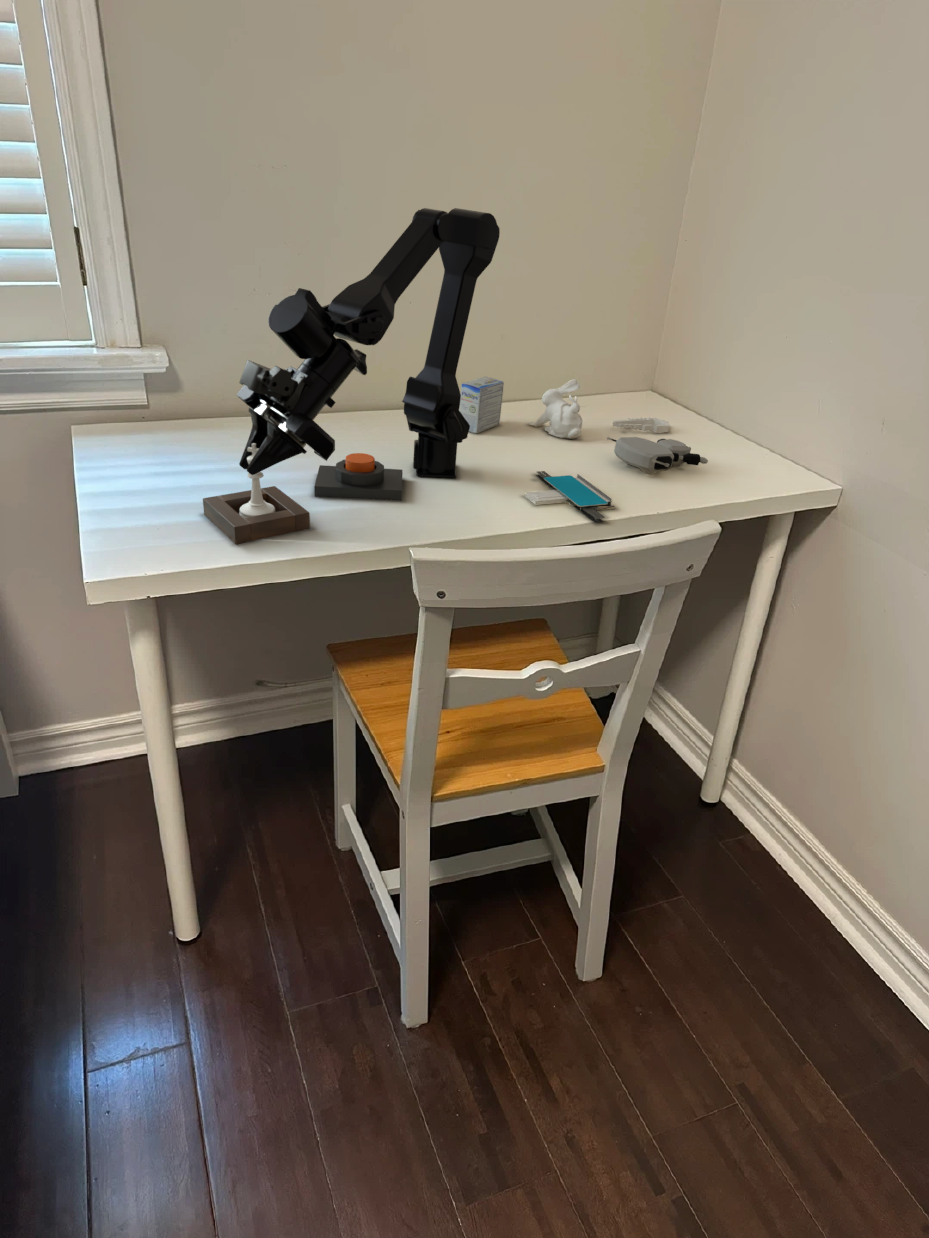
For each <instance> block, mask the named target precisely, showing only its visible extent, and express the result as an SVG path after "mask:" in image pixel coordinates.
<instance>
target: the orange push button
mask: <svg viewBox="0 0 929 1238" xmlns="http://www.w3.org/2000/svg"><path fill="white" fill-rule="evenodd" d="M345 459H346V469H347V470H348V471H352V472H363V473H364V472H371V471H373V470H374V469H375V461H376V458H375V457H374V456H373V455H372V454H369V453H363V452H355V453H350V454H347V455H346V456H345Z"/></svg>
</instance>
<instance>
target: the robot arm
mask: <svg viewBox="0 0 929 1238" xmlns="http://www.w3.org/2000/svg"><path fill="white" fill-rule="evenodd" d="M413 214H414V215H413V216H412V219H411V222H410V223H409V225H408V226H407V227H406V229H405V230H404V231H403V232H402V233H401V235H400V236H399V237H398V238H397V240H396V241H395V242H394V243H393V245H392V246H391V247H390V248H389V249H388V250H387V252H386V253H385V254H384V255H383V257H382V258H381V259H380V260H379V262H378V263H377V264H376V266H374V268H373V269H372V271H370V273H368V275H366V276H365V277H364V278H363V279H359V280H357V281H355V282H353V283H351V284H349V285H347V286H346V287H345V288H344V289H343V290H341V292H339V293H338V294H337V295H336V296H335V297H333V299H332V300H331V302H330V303H329V304H325V305H323V306H322V305H321V304H320V302H319V301H318V299H317V297H316V296H315V294H314V293H313V292H312V291H311V290H310V289H305V288H302V287H299V288H297V290H296V291H295V293H294V294H292V295H289V296H286V297H284V298H283V299H281V300H280V301H279V302H278V303H277V304H275V305H273V307H272V309H271V310H270V311H269V315H268V321H267V322H268V327H269V328H270V330H271V331H272V332H273V333H274V334H275V335H276V336H277V337H278V338H279V339H280V340H281V342H283V344H284V345H285V346H286V347H287V348H288V349H289V350H290V351H291V352H292V353H293V354H294V355H295V356H296V357H297V358H299V359H300V360H303V361H302V363H300V364H299V366H298V367H297V368H295V367H293V366H288V367H287V368H286V369H285V368H282V367H280V366H278V365H274V366H273V367H272V368H269V367H267V366H265V365H262V364H260V363H257V362H255V361H252V360H249V359H247V360H246V362H245V365H244V368H243V371H242V374H241V376H240V379H239V382H238V383H239V384H240V385H242V386H241V388H240V389H239V391H238V392H237V393H236V397H238V399H240V400H241V401H242V402H243V403H244V404H245V405H246V406H247V407H248V413H249V414H250V418H251V423H252V424H251V429H250V432H249V437H248V439H247V441H246V444H245V447H244V450H243V452H242V455H241V459H240V461H239V463H238V465H239V466H240V467H241V468H242V469H243V470H246V472H247V473H250V474H251V475H254V474H256V473H258V472H263V471H264V470H267V469H269V468H270V467H273V466H274V465H275V466H276V465H277V464H279V463H281V462H284V461H286V460H289V459H291V458H293V457H295V456H298V455H300V454H303V455H305V454H306V453H307V452H308V451H307V450H306V449H305V447H306V445H307V446H308V447H309V448H311V449H312V450H313V453H314V454H315V455H317V456H318V457H319V458H322V460H324V461H326V462H327V461H328V460H329V458H330V457H331V456H332V455H333V453H334V452H335V451H336V440H335V439H334V438H333V437H332V436H331V435H330V434H329V433H328V432H327V431H326V430H324V429H323V428H322V427H321V426H320V425H319V424H318V423H317V422H315V419H316V418H317V416H318V415H319V414H320V413H321V411H322V410H323V409H324V408H325V407H328V408H330V409H332V408H333V407H334V406H335V404H337V403H336V401H335V400H334V399H333V398H332V397H333V396H334V395H335V394H336V392H337V391H338V390H339V389H340V387H341V386H342V385H343V384H344V382H345V381H346V380H347V378H348V377H349V376H350V375H351V374H352V372H353V371H356V372H358V373H359V374H361V375H362V376H366V375H367V374H368V367H367V366H368V365H367V354H366V353H364V352H363V351H361V350H359V349H358V348H357V349H354V348H353V347H352V346H351V344H350V343H349V342H348V341H350V342H353V343H356V344H360V345H363V346H376V345H377V344H378V343H379V342H380V341H381V340H382V339H383V338H384V336H385V335H386V332H387V331H388V329H389V327H390V326H391V324H392V322H393V320H394V318H395V308H396V307H395V306H396V303H397V302H398V300H399V298H400V297H401V296H402V295H403V293H404V292H405V291H406V290H407V288H408V287H409V286H410V284H411V283H412V282H413V281H414V279H415V278H417V276H418V274H419V273H420V272H421V271H422V270H423V268H424V267H425V266H426V265H427V263H428V262H429V261H430V259H431V258H432V257H433V256H434V254H435V253H436V252H437V251H438V252H439V256H440V258H441V262H442V266H443V269H444V270H443V277H442V281H441V286H440V290H439V296H438V300H437V304H436V309H435V315H434V319H433V324H432V329H431V334H430V338H429V342H428V347H427V353H426V357H425V361H424V365H423V368H422V369H421V371H420V372H419V373H418V374H417V375H416V376H415V377H414V376H409V377H408V379H407V381H406V388H405V394H404V396H403V399H402V401H401V402H402V403H403V414H404V416H405V417H406V422H407V427H408V431H410V432H414V433H417V439H414V440H413V456H412V457H413V458H412V459H413V460H412V465H413V466H412V467H413V470H415V475H416V477H423V478H441V479H457V470H456V469H457V468H456V466H457V454H458V444H461V443H463V440H467V438H468V435H469V433H470V432H469V429H470V425H469V423H468V422H467V421H466V419H465V418H464V417H463V415H462V414H461V412H460V399H461V389H460V387H459V383H458V379H457V369H458V365H459V361H460V356H461V352H462V348H463V343H464V338H465V335H466V329H467V325H468V320H469V316H470V311H471V307H472V302H473V298H474V293H475V290H476V284H477V281H478V278H480V276H481V275H482V274H483V273H484V271H485V270H486V269H487V268H488V267H489V265H491V263H492V261H493V258H494V255H495V252H496V249H497V246H498V243H499V240H500V227H499V225H498V223H497V219H496V218H495V216H494V215H493V214H492V213H491V212H485V211H484V212H483V211H478V210H471V209H465V208H457V207H454V208H452V209H450V210H449V212H448V211H445V210H441V209H440V210H439V209H434V208H427V207H424V208H421V209H417V211H416V212H415V213H413ZM336 337H337V338H336ZM252 443H256V448H259V450H258V451H257V452H256V454H255V456H254V457H253V459H252V460H251V462H250V464H248V461H247V457H248V456H251V455H252V452H250V451H247V448H248V447H252Z"/></svg>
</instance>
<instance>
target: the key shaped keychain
mask: <svg viewBox="0 0 929 1238" xmlns="http://www.w3.org/2000/svg"><path fill="white" fill-rule="evenodd" d="M612 427H615V428H618V429H632V430H639V431H642V432H651V433H654V434H659V433H669V430H670V423H669V421H668V420H665V419H661V418H657V417H650V416H649V417H648V416H647V417H639V418H638V417H637V418H635V417H634V418H627V419H613V420H612Z"/></svg>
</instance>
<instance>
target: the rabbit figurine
mask: <svg viewBox="0 0 929 1238" xmlns="http://www.w3.org/2000/svg"><path fill="white" fill-rule="evenodd" d="M580 387H581V386H580V383H579V382H578V379H576V378H572V379H570V380H569V381H566V382H565V383H563V384H562V385H561V386H559V387H558V388H549V389H547V390H546V391H545V392H544V393H543V395H542V397H541V403H542V404H543V405H545V409H544V412H543V413H542V414H541V415H540V416H539V417H538V419H537V420H536V421H535V422H530V423H529V426H532V427H535V428H538V427H542V426H544V425H545V424H547V423H548V422H549V426H548V425H547V426H546V427H544V432H548V434H549V435H551V436H554V437H557V438H560V439H570V440H574V439H577V438H579V437H580V436H581V434H582V426H583V423H584V421H583V418H582V416H581V415H580V413H579V412H580V410H581V405H580V404H579V403H578V396H577V395H575V396H574V398H573V397H572V395H571V394H569V393H573V392H574V393H575V392H576V391H579V389H580ZM566 394H569V395H568V400H569V401H570V402H571V403H572V404H571V403H569V402H567V401H566V400H565V399H564V398H563V395H566Z"/></svg>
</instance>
